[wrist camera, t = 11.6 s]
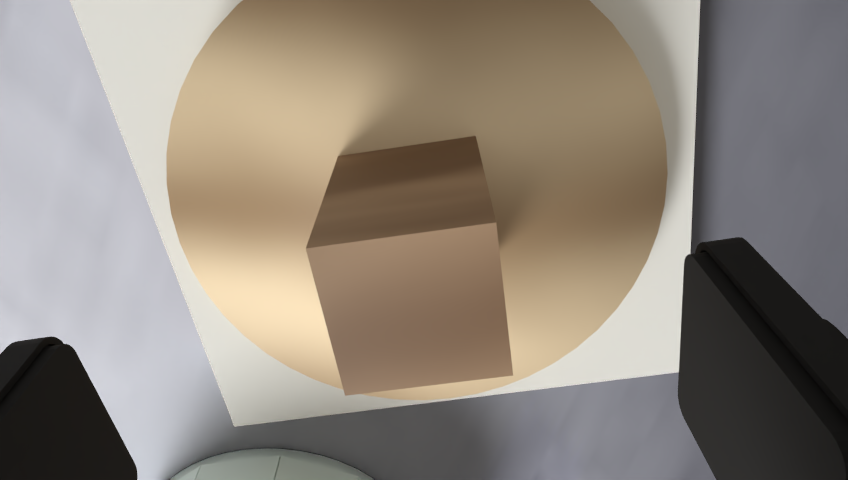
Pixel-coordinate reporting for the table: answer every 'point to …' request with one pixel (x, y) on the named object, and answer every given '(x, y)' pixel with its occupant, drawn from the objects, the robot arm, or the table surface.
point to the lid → (416, 185)
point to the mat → (305, 397)
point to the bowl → (270, 467)
